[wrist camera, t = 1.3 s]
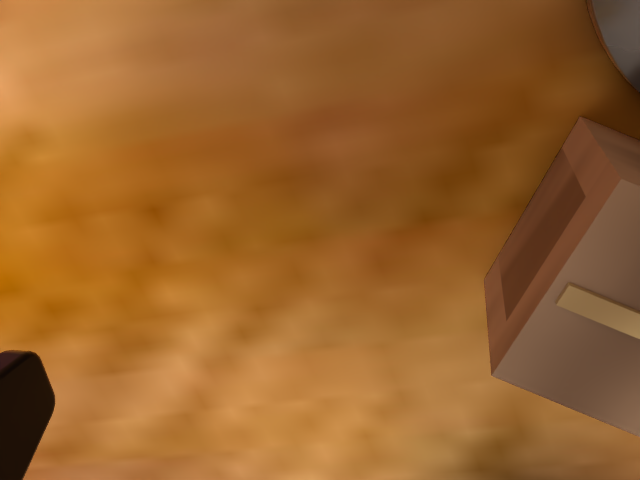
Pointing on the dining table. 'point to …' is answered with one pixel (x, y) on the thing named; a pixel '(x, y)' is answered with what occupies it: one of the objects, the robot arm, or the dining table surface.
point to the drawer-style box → (575, 282)
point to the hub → (619, 34)
